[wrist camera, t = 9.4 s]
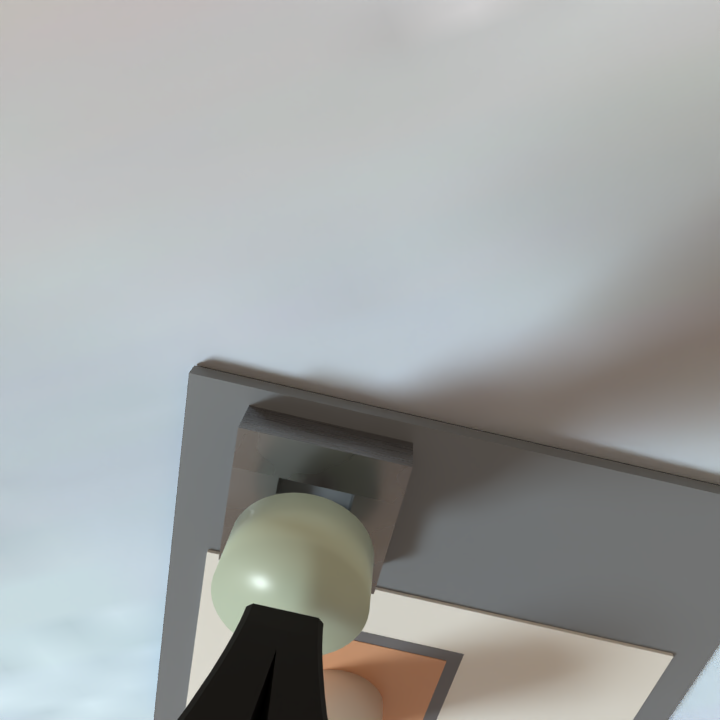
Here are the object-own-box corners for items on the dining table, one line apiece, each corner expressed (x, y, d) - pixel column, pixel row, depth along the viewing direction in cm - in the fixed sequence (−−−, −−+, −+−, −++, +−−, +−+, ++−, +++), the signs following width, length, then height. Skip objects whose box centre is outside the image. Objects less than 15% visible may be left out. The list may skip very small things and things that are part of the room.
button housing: (413, 442, 15) (412, 467, 14) (376, 565, 16) (373, 594, 16) (249, 405, 15) (237, 427, 14) (229, 532, 16) (218, 559, 16)
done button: (391, 477, 14) (385, 559, 12) (361, 579, 15) (351, 671, 13) (253, 445, 14) (220, 522, 12) (235, 551, 15) (203, 638, 13)
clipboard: (798, 503, 15) (810, 517, 15) (596, 806, 21) (600, 824, 20) (194, 365, 15) (187, 375, 14) (158, 710, 21) (152, 725, 20)
